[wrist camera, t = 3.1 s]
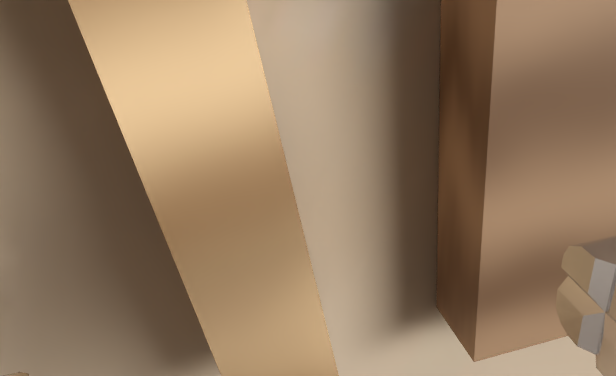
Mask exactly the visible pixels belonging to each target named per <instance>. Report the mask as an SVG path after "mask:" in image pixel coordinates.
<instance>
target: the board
mask: <svg viewBox="0 0 616 376" xmlns="http://www.w3.org/2000/svg"><path fill="white" fill-rule="evenodd" d="M613 235H616V0H441V32H440V102H439V171H438V241H437V309H438V310H439V311H440V313H441V314H442V316H443V317H444V319H445V320H446V322H447V323H448V325H449V326H450V328H451V329H452V331H453V332H454V333H455V335H456V336H457V338H458V339H459V341H460V342H461V344H462V345H463V347H464V348H465V350H466V351H467V352H468V354H469V355H470V357H471V358H472V360H473V361H474V362H476V361H479V360H483V359H486V358H490V357H494V356H497V355H501V354H504V353H508V352H512V351H515V350H519V349H522V348H526V347H529V346H533V345H537V344H540V343H544V342H547V341H551V340H554V339H558V338H562V337H565V336H568V335H567V333H566V332H565V330H564V328H563V326H562V325H561V323H560V320H559V316H558V312H557V308H556V298H557V289H558V288H559V287H560V285H561V284H562V283H563V282H564V280H565V279H566V278H567V277H568V275H567V274H566V272H565V271H564V270H563V269H562V267H561V265H562V260H563V255H564V253H565V251H566V250H567V249H568V247H569V246H571V245H576V244H580V243H584V242H588V241H592V240H597V239H601V238H605V237H609V236H613Z"/></svg>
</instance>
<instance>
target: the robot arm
mask: <svg viewBox="0 0 616 376" xmlns="http://www.w3.org/2000/svg"><path fill="white" fill-rule="evenodd" d="M561 267H562V269H563V270H564V271H565V272H566V274H567V275H568V277H567V278H566V279H565V280H564V282H563V283H562V284H561V285H560V287H559V288H558V289H557V298H556V308H557V312H558V316H559V320H560V323H561V325H562V326H563V328H564V330H565V332H566V333H567V335H568V336H569V337H570V338H571V340H572V341H573V342H574V343H575V344H576V345H577V346H578V347H580V348H582V349H585V350H587V351H589V352H591V353H593V354H596V368H597V369H598V370H599V371H600V372H601V374H602V375H603V376H616V235H613V236H609V237H605V238H601V239H597V240H592V241H588V242H584V243H580V244H576V245H571V246H569V247H568V249H567V250H566V251H565V253H564V255H563V260H562V265H561ZM3 376H29V374H28V373H22V372H18V373H13V374H8V375H3Z"/></svg>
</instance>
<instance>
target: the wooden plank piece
mask: <svg viewBox="0 0 616 376" xmlns="http://www.w3.org/2000/svg"><path fill="white" fill-rule="evenodd" d="M68 2H69V4H70V7H71V9H72V12H73V14H74V16H75V19H76V21H77V24H78V26H79V29H80V31H81V34H82V36H83V38H84V41H85V43H86V46H87V48H88V51H89V53H90V56H91V58H92V61H93V63H94V65H95V68H96V70H97V73H98V75H99V78H100V80H101V83H102V85H103V87H104V90H105V92H106V95H107V97H108V100H109V102H110V105H111V107H112V109H113V112H114V114H115V117H116V119H117V122H118V124H119V127H120V129H121V132H122V134H123V136H124V139H125V141H126V144H127V146H128V149H129V151H130V154H131V156H132V158H133V161H134V163H135V166H136V168H137V171H138V173H139V176H140V178H141V181H142V183H143V185H144V188H145V190H146V193H147V195H148V198H149V200H150V203H151V205H152V207H153V210H154V212H155V215H156V217H157V220H158V222H159V225H160V227H161V229H162V232H163V234H164V237H165V239H166V242H167V244H168V247H169V249H170V252H171V254H172V256H173V259H174V261H175V264H176V266H177V269H178V271H179V274H180V276H181V278H182V281H183V283H184V286H185V288H186V291H187V293H188V296H189V298H190V300H191V303H192V305H193V308H194V310H195V313H196V315H197V318H198V320H199V323H200V325H201V327H202V330H203V332H204V335H205V337H206V340H207V342H208V345H209V347H210V349H211V352H212V354H213V357H214V359H215V362H216V364H217V367H218V369H219V371H220V374H221V376H339V375H338V371H337V367H336V363H335V359H334V355H333V351H332V347H331V343H330V339H329V335H328V331H327V326H326V322H325V318H324V314H323V310H322V306H321V302H320V298H319V294H318V290H317V286H316V282H315V278H314V274H313V270H312V265H311V261H310V257H309V253H308V249H307V245H306V241H305V237H304V233H303V229H302V225H301V221H300V217H299V213H298V208H297V204H296V200H295V196H294V192H293V188H292V184H291V180H290V176H289V172H288V168H287V164H286V160H285V156H284V152H283V147H282V143H281V139H280V135H279V131H278V127H277V123H276V119H275V115H274V111H273V107H272V103H271V99H270V95H269V90H268V86H267V82H266V78H265V74H264V70H263V66H262V62H261V58H260V54H259V50H258V46H257V42H256V38H255V34H254V29H253V25H252V21H251V17H250V13H249V9H248V5H247V1H246V0H68Z"/></svg>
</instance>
